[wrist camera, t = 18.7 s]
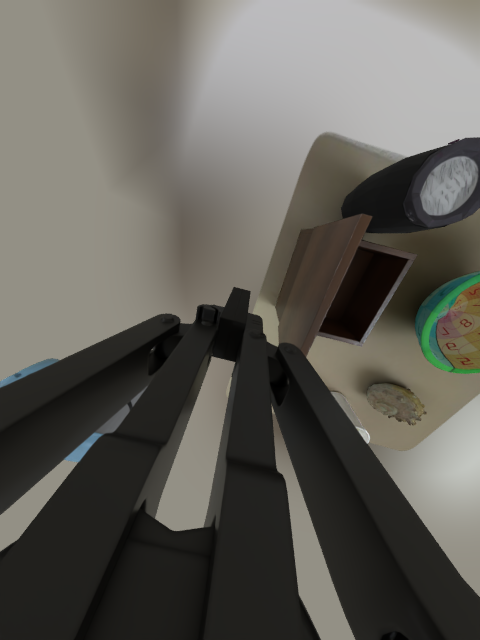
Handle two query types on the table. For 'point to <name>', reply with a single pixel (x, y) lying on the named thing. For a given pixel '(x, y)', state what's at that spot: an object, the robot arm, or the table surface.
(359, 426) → the candle holder
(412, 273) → the table surface
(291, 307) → the lid
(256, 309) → the table surface
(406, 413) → the seashell
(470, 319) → the bowl
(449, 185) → the portable speaker
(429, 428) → the table surface
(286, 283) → the chest
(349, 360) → the table surface
